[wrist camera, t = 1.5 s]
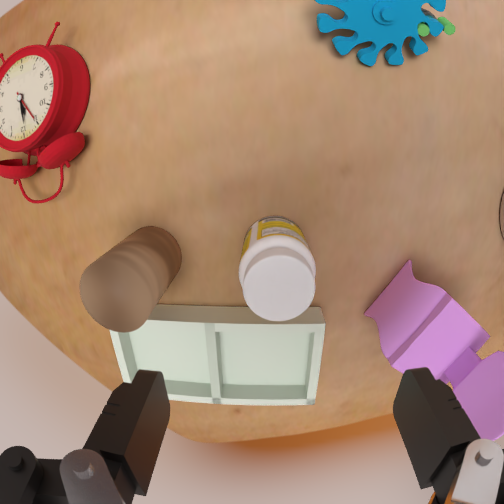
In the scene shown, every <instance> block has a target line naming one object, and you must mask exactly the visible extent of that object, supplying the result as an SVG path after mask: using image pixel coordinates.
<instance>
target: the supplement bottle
mask: <svg viewBox="0 0 504 504" xmlns="http://www.w3.org/2000/svg"><path fill="white" fill-rule="evenodd" d="M315 276H316V266H315V261H314V258H313V255H312V253H311V251H310V249H309V246H308V244H307V242H306V240H305V238H304V235H303V233H302V231H301V230H300V228H299V227H298V226H297V225H296V224H295V223H294V222H293V221H291V220H289V219H287V218H285V217H281V216H268V217H265V218H262V219H260V220H258V221H257V222H255V223H254V224H253V225H252V226H251V227H250V229H249V230H248V232H247V234H246V236H245V239H244V244H243V249H242V255H241V260H240V264H239V280H240V283H241V286H242V288H243V295H244V299H245V301H246V303H247V305H248V306H249V308H250V309H251V310H252V311H253V312H254V313H255V314H257V315H258V316H260V317H262V318H264V319H267V320H271V321H286V320H290V319H292V318H295V317H297V316H299V315H300V314H302V313H303V312H304V311H305V310H306V309H307V308H308V307H309V305H310V304H311V302H312V300H313V298H314V294H315Z"/></svg>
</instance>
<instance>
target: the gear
mask: <svg viewBox="0 0 504 504" xmlns="http://www.w3.org/2000/svg"><path fill="white" fill-rule="evenodd" d="M315 1H316V2H317V3H319V4H328V5H333V6H336V7H338V8H340V9H341V10H342V11H344V12H345V15H344V17H343V18H342V19H340V20H336V19H333V18H332V17H331V16H329V15H328V14H325V13H320V14H318V15H317V26H318V28H319V30H320V32H323V33H328V32H331V31H333V30H336V29H350V30H354V31H355V33H354V35H353V36H351V37H344V36H336V37H334V38H333V39H332V42H333V44H334V46H335V48H336V49H337V51H338V52H339V53H340V54H341V55H346V54H348V53H349V52H350V50H351V49H352V48H353V47H354V46H356V45H358V44H360V43H363V42H367V41H372V45H371V46H370V47H367V48H363V49H360V50H359V51H358V53H357V56H358V58H359V60H360V61H361V62H362V63H364V64H366V65H368V66H373V65H374V64H375V62H376V58H377V55H378V53H379V51H380V50H381V49H382V48H383V47H384V46H386V45H387V44H389V43H393V46H392V47H391V48H390V49H389V50H388V51H387V52H386V53H385V58H386V60H387V61H388V63H389V64H392V65H402V64H403V62H404V58H403V56H402V50H401V49H402V45H403V42H404V40H405V38H406V37H408V36H412V38H411V41H410V43H409V47H410V49H411V50H412V51H413V52H414V53H415V55H421V54H423V53H425V52H427V51H428V47H427V45H426V44H425V43H424V42H423V41H422V40H421V39H420V37H419V35H421V36H427V35H428V34H429V32H430V33H431V34H432V35H433V36H435V37H436V36H438V35H439V34H440V33H441V32H442V30H443V31H444V32H445V33H446V34H448V35H451V34H453V33H454V32H455V26H454V25H453V24H452V23H451V22H449V21H448V20H447V19H446V18H445V17H439V18H438V19H436V17H435V16H434V15H433V14H432V13H430V12H429V11H427V10H425V9H422V8H421V6H422V5H423V4H424V3H429V5H430V6H432V7H433V8H434V9H436V10H437V11H440V12H442V11H444V9H445V6H446V0H315Z"/></svg>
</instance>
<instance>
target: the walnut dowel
mask: <svg viewBox="0 0 504 504" xmlns="http://www.w3.org/2000/svg"><path fill="white" fill-rule="evenodd" d="M181 260H182V256H181V250H180V247H179V245H178V243H177V241H176V240H175V238H174V237H173V236H172V235H171V234H170V233H168V232H167V231H165V230H163V229H161V228H158V227H154V226H148V227H143V228H140V229H138V230H137V231H135V232H134V233H132V234H131V235H130V236H128V237H127V238H125V239H124V240H123V241H121V242H120V243H119V244H117V245H116V246H114V247H113V248H112V249H110V250H109V251H108V252H106V253H105V254H104V255H102V256H101V257H100V258H98V259H97V260H96V261H94V262H93V263H92V264H91V265H89V266H88V267H87V268H86V269H85V271H84V272H83V274H82V277H81V280H80V295H81V299H82V302H83V304H84V306H85V308H86V310H87V311H88V313H89V314H90V315H91V317H92V318H93V319H94V320H95V321H96V322H98V323H99V324H100V325H102V326H103V327H105V328H107V329H109V330H112V331H115V332H122V333H126V332H132V331H135V330H137V329H139V328H140V327H141V326H142V325H143V324H144V323H145V322H146V320H147V319H148V317H149V316H150V314H151V312H152V311H153V309H154V308H155V306H156V305H157V303H158V302H159V300H160V298H161V297H162V295H163V294H164V292H165V291H166V289H167V288H168V286H169V285H170V283H171V282H172V280H173V278H174V277H175V275H176V274H177V272H178V271H179V269H180V266H181Z"/></svg>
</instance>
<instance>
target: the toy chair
mask: <svg viewBox="0 0 504 504" xmlns="http://www.w3.org/2000/svg"><path fill="white" fill-rule="evenodd" d="M364 315H365V316H368V317H371V318H373V319H374V320H375V321H376V323H377V326H378V330H379V336H380V344H381V349H382V352H383V354H384V356H385V357H386V358H387V359H388V361H389V363H390V365H391V366H392V367H393V368H395V369H397V370H398V371H400V372H402V373H403V374H404V372H405V370H407V369H414V368H422V367H427V368H429V370H430V371H431V373H432V374H433V376H434V378H435V379H436V380H438V379H440V380H441V381H443V382H444V383H445V384H447V383H448V382H449V381H450V383H451V384H452V386H453V393H454V394H455V396H456V397H457V400H458V401H459V402H460V404H461V406H462V408H463V409H464V410H465V412H466V414H467V415H468V417H469V419H470V420H471V422H472V424H473V426H474V427H475V429H476V431H477V432H478V434H479V436H480V438H481V439H489V440H492V441H494V440H496V439H498V438H499V437H501V436H502V435H503V434H504V352H501V351H497V352H495V353H493V354H492V355H490V356H488V357H487V358H485V359H483V360H481V359H480V357H479V356H478V355H477V354H476V352H477V351H478V350H479V349H480V348H481V347H482V346H483V344H484V343H485V342H486V341H487V340H488V338H489V337H490V335H489V334H488V333H487V332H486V331H485V330H484V329H483V328H482V327H481V326H480V325H479V324H478V323H477V322H476V321H475V320H474V319H473V318H472V317H471V316H470V315H469V314H468V313H467V312H466V311H465V310H464V309H463V308H462V307H461V306H460V305H459V304H458V303H457V302H456V301H455V300H454V299H453V298H452V297H451V296H450V295H449V294H448V293H447V292H446V291H445V290H443V289H442V288H441V287H439V286H436V285H432V284H428V283H424V282H421V281H418V280H417V279H415V277H414V276H413V272H412V261H411V260H410V259H409V260H408V261H407V263H406V264H405V265H404V266H403V268H402V269H401V270H400V271H399V273H398V274H397V275H396V276H395V277H394V279H393V280H392V281H391V282H390V284H389V285H388V286H387V287H386V288H385V290H384V291H383V292H382V293H381V294H380V295H379V297H378V298H377V299H376V300H375V301H374V302H373V304H372V305H371V306H370V307H369V308H368V309H367V310H366V312H365V313H364Z"/></svg>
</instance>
